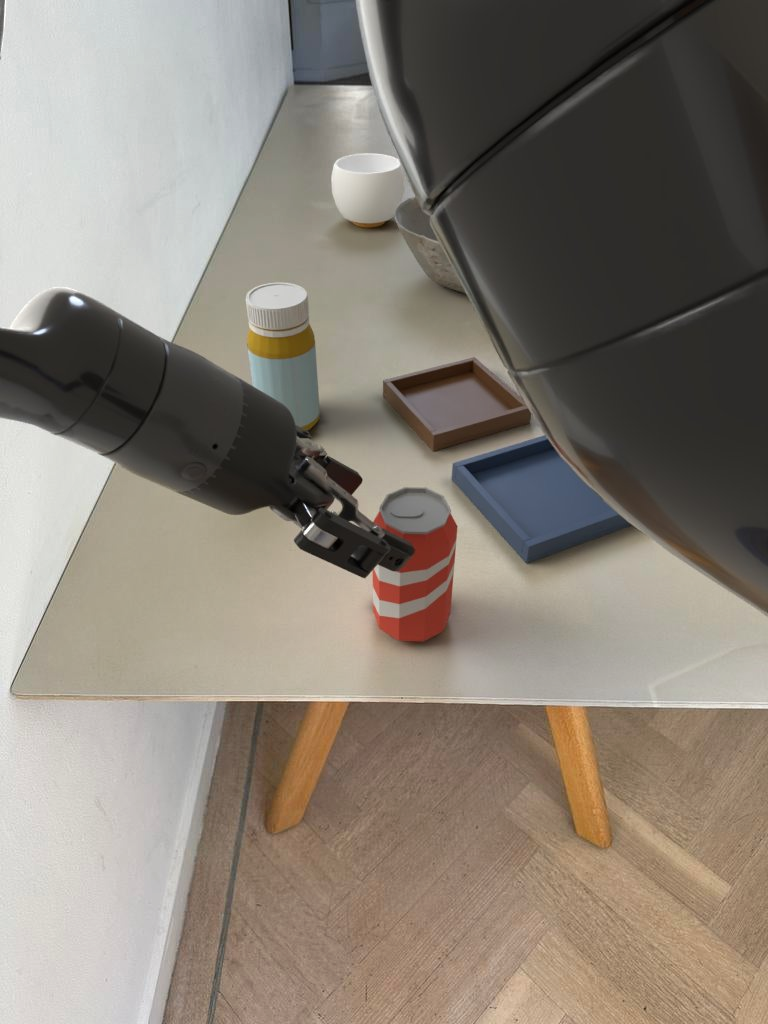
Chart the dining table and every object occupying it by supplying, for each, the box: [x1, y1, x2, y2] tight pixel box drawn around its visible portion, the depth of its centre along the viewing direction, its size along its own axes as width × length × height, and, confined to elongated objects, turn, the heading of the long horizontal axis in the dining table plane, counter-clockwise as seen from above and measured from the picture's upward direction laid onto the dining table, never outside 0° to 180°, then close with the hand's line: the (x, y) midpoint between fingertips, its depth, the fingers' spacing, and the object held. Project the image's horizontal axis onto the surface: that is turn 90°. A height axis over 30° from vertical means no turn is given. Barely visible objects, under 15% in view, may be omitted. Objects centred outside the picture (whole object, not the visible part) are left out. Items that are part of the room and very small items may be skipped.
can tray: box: [451, 434, 633, 564], centre depth 74 cm, size 14×14×2 cm
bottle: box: [245, 281, 321, 432], centre depth 81 cm, size 7×7×15 cm
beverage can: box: [372, 486, 458, 642], centre depth 59 cm, size 6×6×12 cm
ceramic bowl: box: [394, 196, 467, 295], centre depth 110 cm, size 22×23×10 cm
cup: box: [330, 152, 406, 228], centre depth 129 cm, size 12×12×10 cm
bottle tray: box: [382, 356, 532, 452], centre depth 87 cm, size 12×12×2 cm
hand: (378, 520), depth 55 cm, fingers open, 8 cm apart
